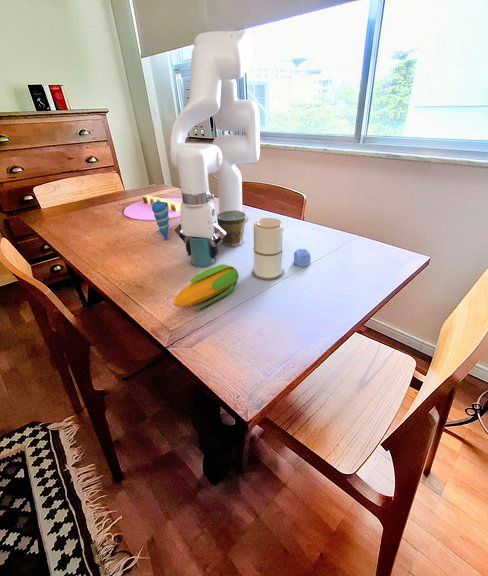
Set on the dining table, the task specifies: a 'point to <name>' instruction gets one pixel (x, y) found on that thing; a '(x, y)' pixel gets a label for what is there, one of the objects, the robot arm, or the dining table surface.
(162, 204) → the ornament
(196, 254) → the teal cup
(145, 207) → the platter
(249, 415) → the dining table surface
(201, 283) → the corn
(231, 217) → the ceramic cup
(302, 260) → the decorative dice
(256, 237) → the cup stack
